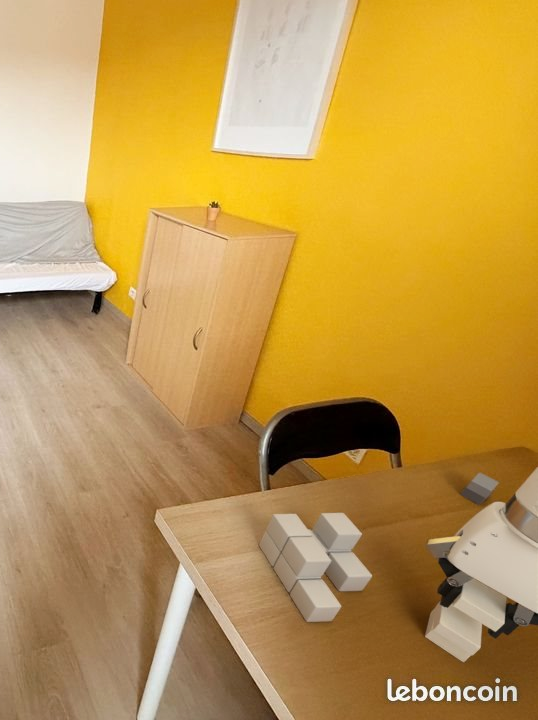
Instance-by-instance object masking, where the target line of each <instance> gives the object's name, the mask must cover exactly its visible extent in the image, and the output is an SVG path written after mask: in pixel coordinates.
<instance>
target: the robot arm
mask: <svg viewBox="0 0 538 720" xmlns="http://www.w3.org/2000/svg"><path fill="white" fill-rule="evenodd" d="M425 549H426V550H427V551H428V552H429V553H430V555H432V556H433V558H434V559H436V561H437V562H438V565H439V567H440V569H441V570H442V572H443V573H444V575H445V579H443V581H442V582H441V583H440V584H439V585H438V587H437V591H436V593H437V594H439V595H440V596H441V597H440V601H439V602H440V605H442V606H443V607H447V608H448V607H449V606H450V605H451V604H452V603H454V600H455V599H456V598H457V597H458V596H459V594H460V593H461V592H462V587H463V584H464V583H466V582H468V581H470V580H472V579H475V580H477V581H479V582H480V583H482V584H484V585H486V586H488V587H489V588H491V589H493V590H495V591H496V592H498V593H500V594H502V595H503V596H505V597H507V598H508V599H510V600H512V601H513V602H514V604H512V603H510V602H507V603H506V611H505V623H504V624H503V625H502V626H501V627H500V628H499V629H498V630H497V631H496V632H495V631H493V630H491V629H490V628H488V627H487V634H488V635H489V636H490V637H491V638H493V639H495V640H496V639H498V637H500V636H501V635H502V634H504V635H506V636H509V635H510V634H512V633H513V632H514V631H515V630H517V628H519V626H521V627H528V626H529V625H532V626H538V466H537V467H536V468H535V469H534V470H533V471H532V472H531V473H530V475H529V476H527V478H526V480H524V482H523V483H522V484H521V485H520V487H518V489H517V490H516V491H515V492H514V494H512V496H511V497H510V498H509V500H508V501H506V503H505V502H503V501H494V502H492V503H490V504H488V505H487V506H485V507H484V508H482V509H480V511H478V512H477V513H476V514H475V515H473V516H472V517H471V518H470V519H469V520H467V522H466V523H465V524H463V526H461V527H460V528H459V530H457V532H456V533H455V534H454V535H453V536H446V537H437V538H429V539H427V540H426V542H425ZM448 552H449V553H448Z"/></svg>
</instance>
